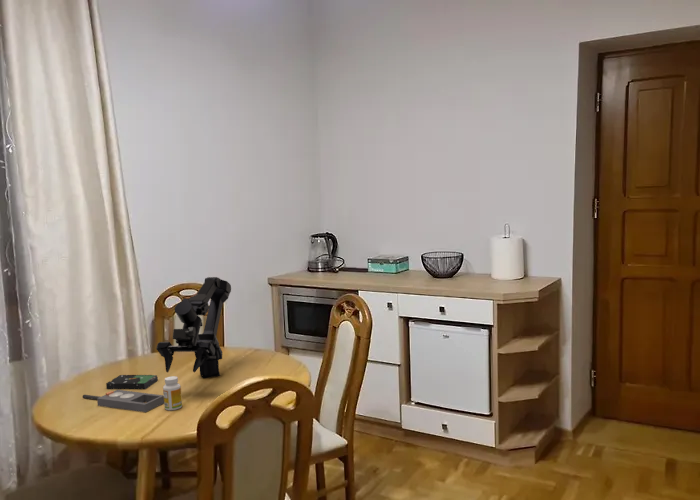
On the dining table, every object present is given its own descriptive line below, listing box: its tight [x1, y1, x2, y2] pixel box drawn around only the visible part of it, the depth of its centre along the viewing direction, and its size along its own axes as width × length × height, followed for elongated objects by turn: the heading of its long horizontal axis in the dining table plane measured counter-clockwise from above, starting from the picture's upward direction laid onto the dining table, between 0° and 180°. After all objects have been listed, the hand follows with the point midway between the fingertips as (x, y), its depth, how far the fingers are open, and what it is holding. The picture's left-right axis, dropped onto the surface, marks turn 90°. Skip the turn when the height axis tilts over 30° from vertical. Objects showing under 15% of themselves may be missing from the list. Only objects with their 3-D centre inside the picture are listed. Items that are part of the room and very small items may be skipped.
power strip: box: [82, 389, 164, 413], centre depth 209 cm, size 31×9×3 cm, turn 66°
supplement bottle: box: [162, 376, 183, 411], centre depth 201 cm, size 5×5×10 cm
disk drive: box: [105, 374, 159, 390], centre depth 228 cm, size 10×3×15 cm
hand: (180, 371), depth 208 cm, fingers open, 9 cm apart
